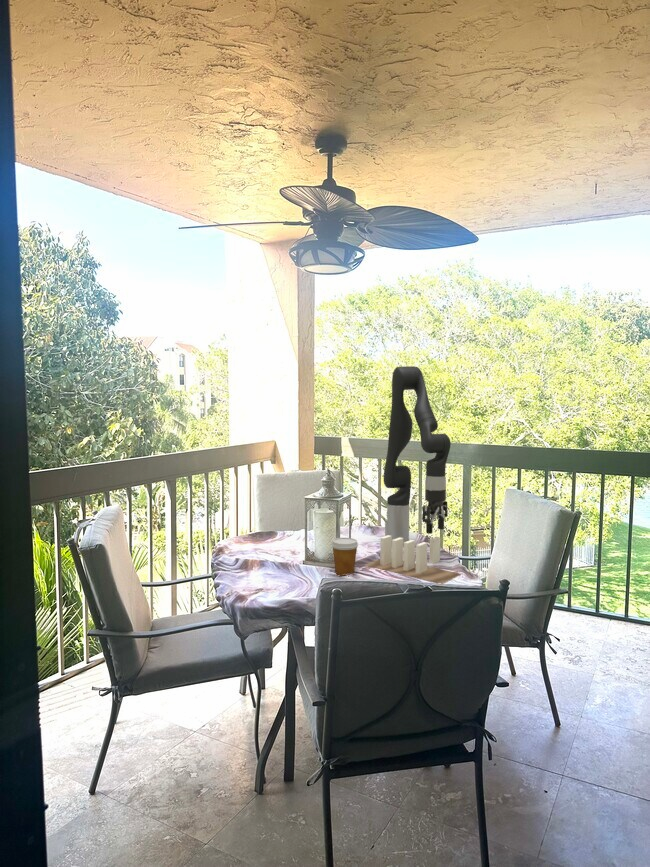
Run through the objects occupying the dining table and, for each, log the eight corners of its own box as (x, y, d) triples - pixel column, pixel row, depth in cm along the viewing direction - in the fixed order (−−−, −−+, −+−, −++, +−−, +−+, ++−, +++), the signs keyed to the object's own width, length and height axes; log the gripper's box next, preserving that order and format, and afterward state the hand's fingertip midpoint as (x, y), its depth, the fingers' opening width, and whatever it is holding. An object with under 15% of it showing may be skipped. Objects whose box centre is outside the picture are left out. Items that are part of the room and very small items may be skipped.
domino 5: (429, 566, 211) (429, 539, 210) (436, 562, 214) (436, 536, 214) (433, 566, 210) (433, 540, 209) (439, 563, 213) (440, 537, 213)
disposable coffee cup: (362, 571, 204) (362, 538, 203) (352, 579, 195) (352, 545, 194) (337, 568, 208) (337, 536, 207) (326, 576, 199) (326, 542, 198)
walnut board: (363, 567, 208) (363, 565, 208) (385, 559, 219) (385, 556, 219) (441, 587, 188) (441, 584, 188) (461, 576, 198) (461, 573, 198)
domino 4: (415, 573, 199) (415, 545, 199) (422, 569, 203) (423, 542, 202) (419, 573, 198) (419, 545, 198) (426, 570, 202) (427, 542, 201)
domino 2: (391, 567, 206) (391, 540, 205) (399, 564, 210) (399, 537, 209) (395, 568, 205) (395, 540, 204) (402, 564, 209) (403, 538, 208)
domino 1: (380, 564, 209) (380, 537, 208) (387, 561, 213) (388, 535, 212) (383, 565, 208) (384, 538, 207) (391, 562, 212) (391, 535, 211)
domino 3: (403, 570, 203) (403, 542, 202) (410, 566, 206) (411, 539, 206) (407, 571, 202) (407, 543, 201) (414, 567, 205) (415, 540, 205)
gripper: (436, 484, 218) (435, 526, 219) (416, 489, 207) (416, 533, 208) (454, 486, 213) (453, 529, 214) (434, 491, 202) (434, 536, 203)
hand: (435, 531), depth 211 cm, fingers open, 8 cm apart
